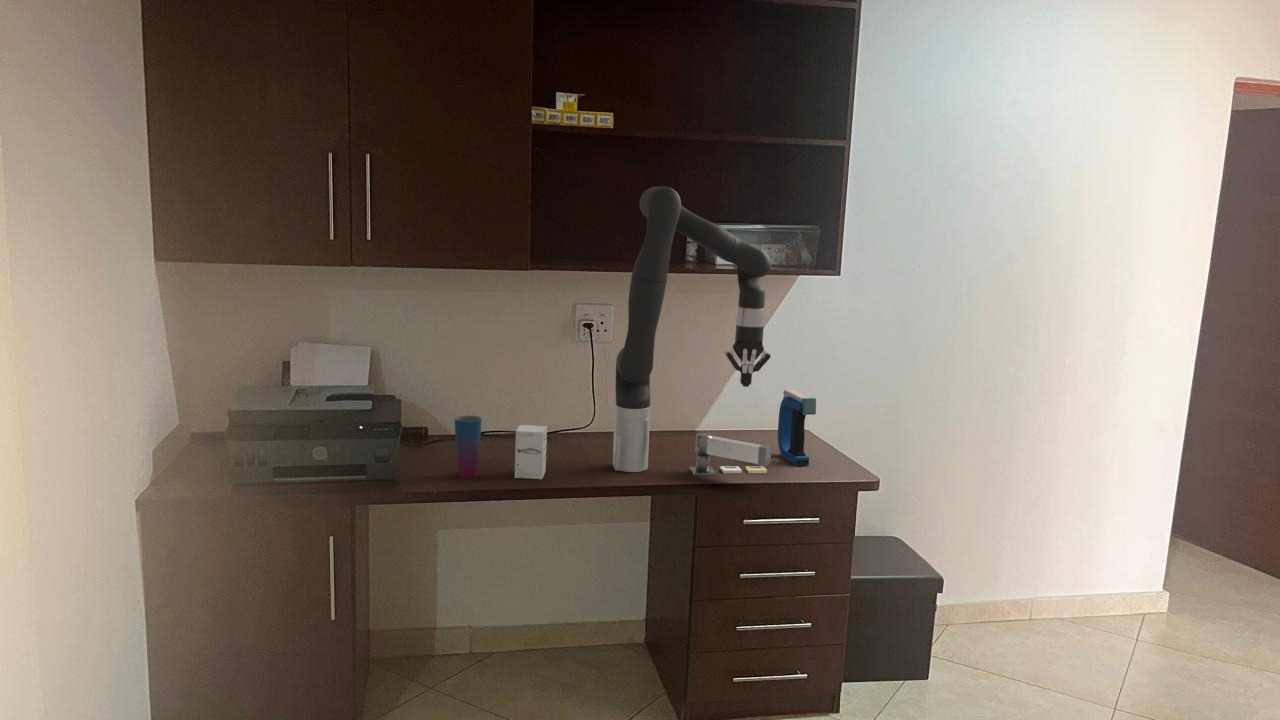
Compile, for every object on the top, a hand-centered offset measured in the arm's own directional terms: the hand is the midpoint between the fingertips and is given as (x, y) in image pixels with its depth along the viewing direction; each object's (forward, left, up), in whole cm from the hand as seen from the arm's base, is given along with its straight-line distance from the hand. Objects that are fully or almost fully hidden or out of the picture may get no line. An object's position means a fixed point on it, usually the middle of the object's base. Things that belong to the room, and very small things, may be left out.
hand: (745, 386), depth 258 cm
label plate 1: (-5, -8, -22) cm, 24 cm away
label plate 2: (+2, -8, -22) cm, 24 cm away
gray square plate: (-13, -9, -22) cm, 27 cm away
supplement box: (-59, -12, -22) cm, 64 cm away
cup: (-75, -12, -22) cm, 79 cm away
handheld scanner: (+16, +3, -22) cm, 28 cm away
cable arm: (-6, -15, -16) cm, 23 cm away
